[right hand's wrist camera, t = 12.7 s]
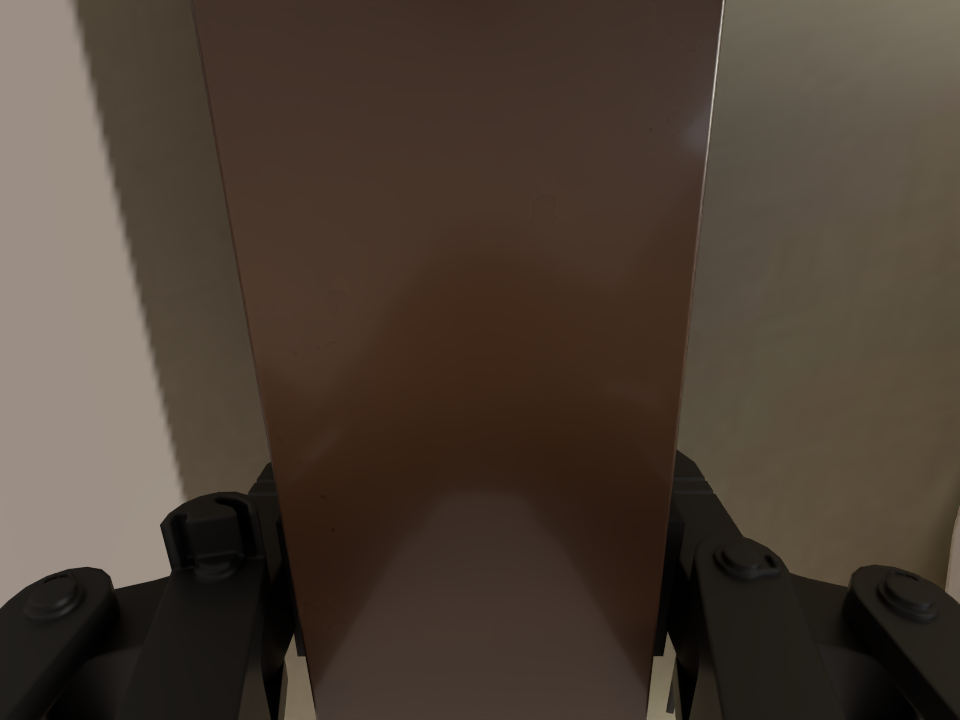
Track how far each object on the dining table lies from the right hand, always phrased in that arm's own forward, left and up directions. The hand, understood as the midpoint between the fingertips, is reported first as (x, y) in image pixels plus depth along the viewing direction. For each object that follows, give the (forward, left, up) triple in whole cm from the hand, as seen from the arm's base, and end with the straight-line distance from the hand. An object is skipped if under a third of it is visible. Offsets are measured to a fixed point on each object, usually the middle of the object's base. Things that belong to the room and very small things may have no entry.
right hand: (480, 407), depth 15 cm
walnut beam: (-7, -4, +1) cm, 8 cm away
